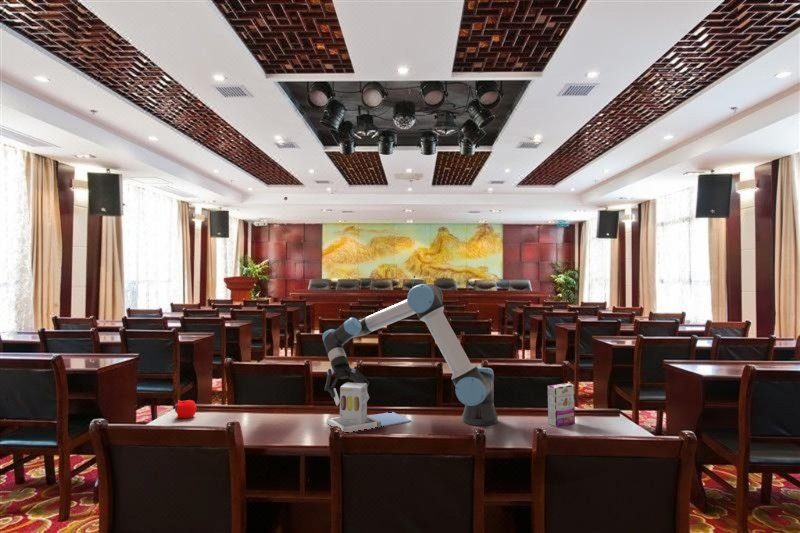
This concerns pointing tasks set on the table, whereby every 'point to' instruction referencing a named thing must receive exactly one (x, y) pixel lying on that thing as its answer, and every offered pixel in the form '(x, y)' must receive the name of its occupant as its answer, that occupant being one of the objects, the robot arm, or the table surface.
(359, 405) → the supplement box
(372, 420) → the bay rack
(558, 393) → the candy bar box
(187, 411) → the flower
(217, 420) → the table surface
